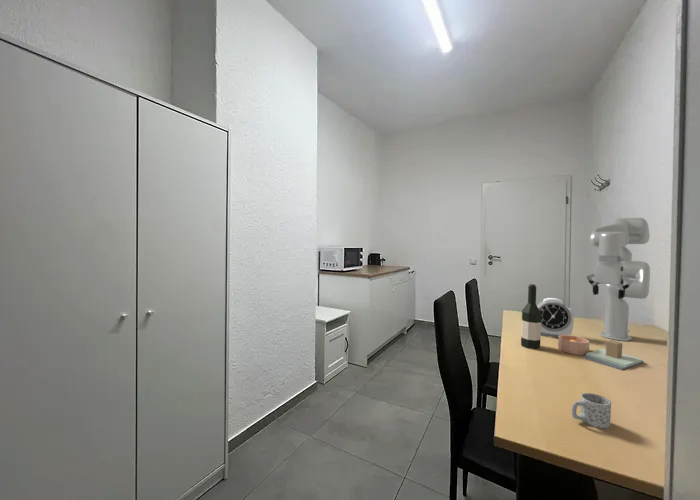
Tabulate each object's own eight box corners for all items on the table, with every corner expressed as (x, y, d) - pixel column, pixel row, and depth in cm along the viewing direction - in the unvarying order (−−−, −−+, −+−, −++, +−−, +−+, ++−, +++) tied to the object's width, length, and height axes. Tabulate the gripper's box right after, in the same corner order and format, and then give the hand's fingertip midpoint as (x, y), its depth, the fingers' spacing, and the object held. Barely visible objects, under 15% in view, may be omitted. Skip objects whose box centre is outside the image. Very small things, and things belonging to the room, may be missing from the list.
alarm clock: (532, 335, 167) (534, 298, 166) (531, 331, 174) (533, 295, 174) (573, 340, 159) (574, 301, 158) (570, 336, 166) (572, 298, 165)
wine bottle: (544, 349, 145) (546, 285, 144) (526, 349, 145) (528, 285, 144) (534, 343, 153) (536, 283, 152) (517, 343, 153) (519, 283, 152)
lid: (603, 350, 143) (603, 335, 143) (642, 361, 130) (643, 345, 130) (586, 355, 137) (586, 339, 136) (625, 367, 124) (626, 350, 124)
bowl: (566, 344, 152) (567, 333, 152) (594, 352, 142) (594, 340, 141) (552, 348, 147) (553, 336, 147) (579, 356, 136) (580, 344, 136)
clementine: (570, 346, 147) (571, 338, 147) (580, 349, 143) (580, 340, 143) (565, 347, 145) (566, 339, 145) (575, 350, 141) (575, 341, 141)
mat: (604, 351, 143) (604, 350, 143) (643, 362, 131) (643, 361, 131) (582, 357, 135) (582, 356, 135) (621, 370, 123) (621, 368, 123)
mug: (596, 415, 91) (597, 392, 90) (616, 429, 84) (617, 405, 84) (563, 415, 90) (564, 392, 90) (580, 429, 84) (581, 405, 83)
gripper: (637, 260, 135) (635, 298, 137) (591, 257, 151) (590, 292, 152) (629, 261, 132) (627, 301, 133) (583, 258, 147) (582, 293, 149)
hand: (608, 296), depth 143 cm, fingers open, 9 cm apart
